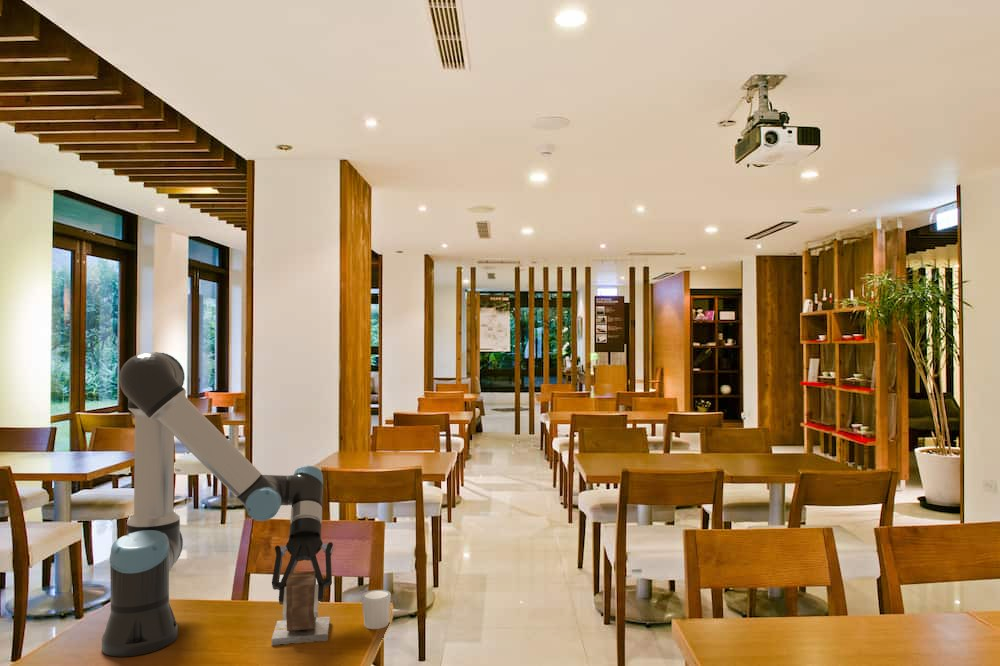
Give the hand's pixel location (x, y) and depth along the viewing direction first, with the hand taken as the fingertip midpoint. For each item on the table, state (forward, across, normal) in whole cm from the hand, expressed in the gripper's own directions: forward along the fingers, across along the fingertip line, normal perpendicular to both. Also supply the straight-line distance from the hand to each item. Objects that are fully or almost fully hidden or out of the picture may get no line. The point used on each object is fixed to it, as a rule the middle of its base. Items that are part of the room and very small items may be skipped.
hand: (300, 615), depth 154 cm
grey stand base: (+1, 0, -6) cm, 7 cm away
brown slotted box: (0, 0, -5) cm, 5 cm away
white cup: (0, -17, -8) cm, 19 cm away
